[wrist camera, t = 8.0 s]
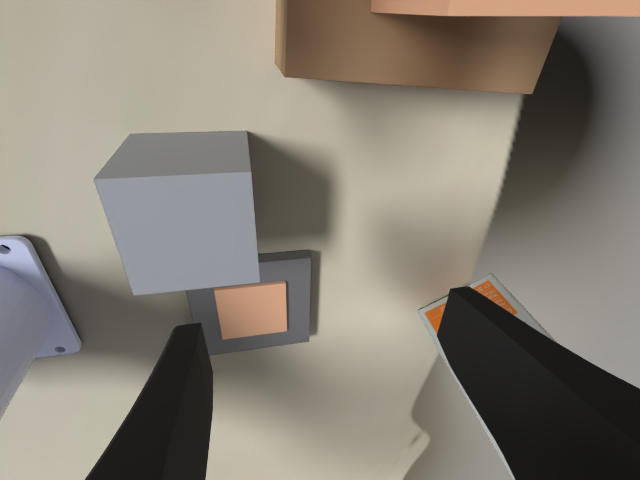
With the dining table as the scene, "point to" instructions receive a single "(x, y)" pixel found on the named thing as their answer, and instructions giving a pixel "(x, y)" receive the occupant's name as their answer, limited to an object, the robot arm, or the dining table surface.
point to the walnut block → (410, 46)
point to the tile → (257, 306)
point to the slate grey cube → (182, 210)
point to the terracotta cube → (508, 7)
